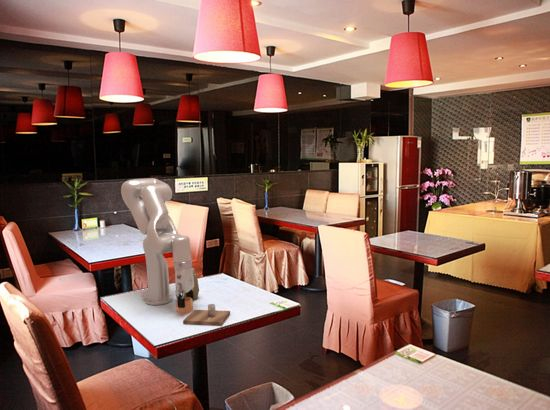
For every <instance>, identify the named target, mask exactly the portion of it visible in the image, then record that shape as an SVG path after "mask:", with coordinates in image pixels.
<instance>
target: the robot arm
mask: <svg viewBox="0 0 550 410" xmlns="http://www.w3.org/2000/svg"><path fill="white" fill-rule="evenodd" d="M120 187H121V188H120V194H121V198H122V200H123V202H124V204H125V205H126V208H128V210H129V212H131V215H132V217H133V220H134V221H135V223H136V227H137V228H138V231H139V232H140V233H141V234H142V235H144V236H146V237H145V238H144V239H143V240H142V249H143V252H144V255H145V265H146V274H147V275H146V276H147V277H146V278H147V291H146V290H145V291H144V290H142V291H141V292H140V294H141V295H140V296H141V297H142V298H143V297H145V300H144V302H145V303H146V304H147V305H151V306H160V305H166V304H169V303H171V302H172V301H173V300H174V296H173V294H170V281H169V280H170V278H169V275H170V274H169V263H168V261H167V259H166V257H165V256H164V254H168V253H172V259H173V261H172V262H173V269H174V272H175V273H174V277H175V278H174V280H175V290H174V293H175V297H176V300H177V305H178V308H185V298H184V294H185V293H186V297H190V298H192V299H193V301H195V300H194V296H193V288H194V277H193V271H192V268H193V261H192V250H191V239H190V237H189V236H188V235H182V234H180V233H178V230H177V228H176V226H175V224H174V222H173V220H172V218H171V216H170V215H169V210H168V207H167V205H166V203H165V202H168V201H170V200H171V199H172V198H173V190H172V188H171V186H170V185H169V184H168V183H166V182H164V181H162V180H159V179H157V178H155V177H154V178H153V177H151V178H133V179H128V180H126V181H124V182H123V183H122V185H121V186H120Z"/></svg>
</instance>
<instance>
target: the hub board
mask: <svg viewBox="0 0 550 410" xmlns="http://www.w3.org/2000/svg"><path fill="white" fill-rule="evenodd" d="M230 316H231V311H230V310H216V304H214V303H210V304H207V309H193V311H192V312H190V313H188V315H187V316H186V317H185V318H184V319H183V320H182V322H183V323H182V324H183V325H195V326H216V327H222V326H223V325H224V323H225V322H226V321H227V320H228V318H229V317H230Z"/></svg>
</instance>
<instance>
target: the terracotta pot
mask: <svg viewBox="0 0 550 410" xmlns="http://www.w3.org/2000/svg"><path fill="white" fill-rule="evenodd" d="M184 298H185V308H178V305H177V299H176V300H175V311H176V313H177V314H181V315H182V314H184V315H185V314H190V313H191V312H192V311H193V310H194V302H193V301H194V300H193V299H192V298H190V297H184Z"/></svg>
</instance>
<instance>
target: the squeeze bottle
mask: <svg viewBox="0 0 550 410" xmlns="http://www.w3.org/2000/svg"><path fill="white" fill-rule="evenodd" d="M192 271H193V277H194V288H193V296H194V300H193V301H195V300H197V299H198V295H199V294H200V293H199V292H200V286H199V281H198V280H199V279H198V274H197V272H195V268H194V267H192ZM184 297H186V293H185V294H184Z"/></svg>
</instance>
